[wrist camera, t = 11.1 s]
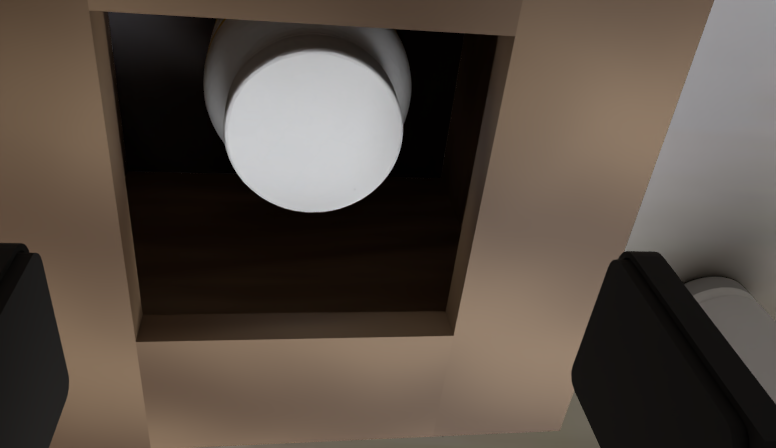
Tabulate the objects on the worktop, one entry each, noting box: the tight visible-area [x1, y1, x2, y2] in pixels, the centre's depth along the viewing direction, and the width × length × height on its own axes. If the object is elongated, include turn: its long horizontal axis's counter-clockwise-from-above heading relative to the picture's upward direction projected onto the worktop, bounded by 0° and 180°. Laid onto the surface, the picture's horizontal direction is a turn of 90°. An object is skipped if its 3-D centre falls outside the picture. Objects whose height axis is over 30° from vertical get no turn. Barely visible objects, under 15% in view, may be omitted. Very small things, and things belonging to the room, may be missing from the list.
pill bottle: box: [203, 18, 411, 212], centre depth 22 cm, size 6×6×11 cm
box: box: [0, 0, 714, 448], centre depth 20 cm, size 16×16×14 cm
